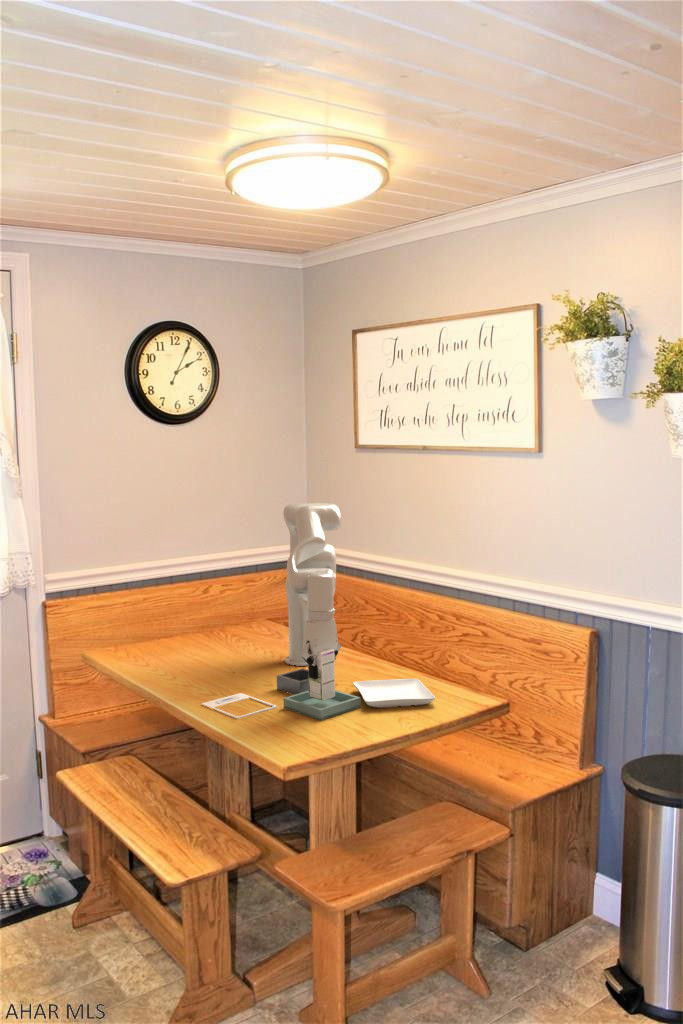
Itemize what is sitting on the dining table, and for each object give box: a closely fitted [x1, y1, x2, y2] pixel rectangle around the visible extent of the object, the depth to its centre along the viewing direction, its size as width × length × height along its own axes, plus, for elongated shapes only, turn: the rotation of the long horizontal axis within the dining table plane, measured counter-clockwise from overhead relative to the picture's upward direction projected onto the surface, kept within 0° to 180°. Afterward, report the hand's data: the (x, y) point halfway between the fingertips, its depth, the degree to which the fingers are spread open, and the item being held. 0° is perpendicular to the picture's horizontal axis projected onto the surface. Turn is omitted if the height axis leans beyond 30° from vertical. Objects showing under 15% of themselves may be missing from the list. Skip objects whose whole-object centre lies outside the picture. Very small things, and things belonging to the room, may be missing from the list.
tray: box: [283, 689, 362, 722], centre depth 251 cm, size 16×16×3 cm
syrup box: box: [307, 649, 336, 701], centre depth 251 cm, size 6×6×14 cm
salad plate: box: [352, 678, 436, 709], centre depth 260 cm, size 21×21×3 cm
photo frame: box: [200, 692, 279, 720], centre depth 254 cm, size 15×1×18 cm
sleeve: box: [276, 668, 309, 695], centre depth 270 cm, size 11×11×4 cm
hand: (321, 675), depth 251 cm, fingers closed on syrup box, 5 cm apart
